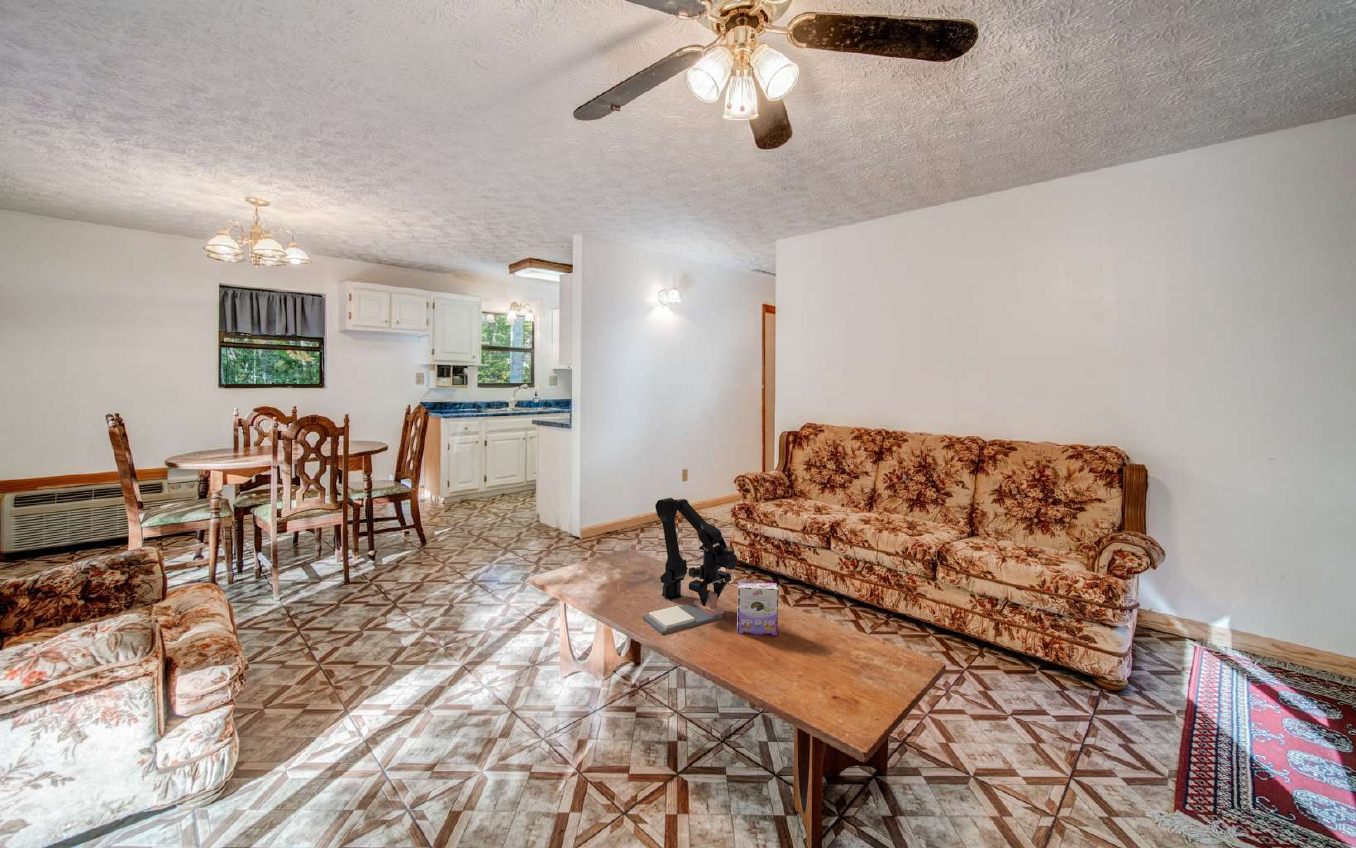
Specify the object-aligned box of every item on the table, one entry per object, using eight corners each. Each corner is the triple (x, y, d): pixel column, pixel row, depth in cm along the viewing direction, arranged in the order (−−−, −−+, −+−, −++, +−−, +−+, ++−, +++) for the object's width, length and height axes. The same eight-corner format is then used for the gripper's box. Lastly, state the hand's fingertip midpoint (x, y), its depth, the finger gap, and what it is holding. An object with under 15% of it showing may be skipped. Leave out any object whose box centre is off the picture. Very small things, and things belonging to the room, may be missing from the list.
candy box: (776, 628, 184) (777, 582, 183) (777, 636, 178) (779, 589, 177) (736, 625, 185) (737, 580, 184) (736, 633, 179) (738, 587, 178)
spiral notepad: (678, 608, 196) (678, 605, 196) (696, 621, 186) (696, 617, 186) (648, 615, 189) (648, 612, 189) (665, 629, 179) (665, 625, 179)
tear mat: (701, 604, 203) (701, 601, 203) (723, 617, 191) (723, 615, 191) (642, 618, 189) (642, 616, 189) (662, 634, 178) (662, 631, 177)
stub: (705, 601, 203) (706, 585, 203) (724, 613, 193) (725, 596, 192) (693, 604, 200) (694, 588, 199) (712, 616, 190) (712, 599, 189)
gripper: (710, 552, 208) (709, 590, 209) (678, 563, 194) (677, 604, 195) (732, 559, 200) (731, 598, 201) (700, 571, 186) (699, 613, 188)
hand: (709, 603), depth 197 cm, fingers open, 7 cm apart
